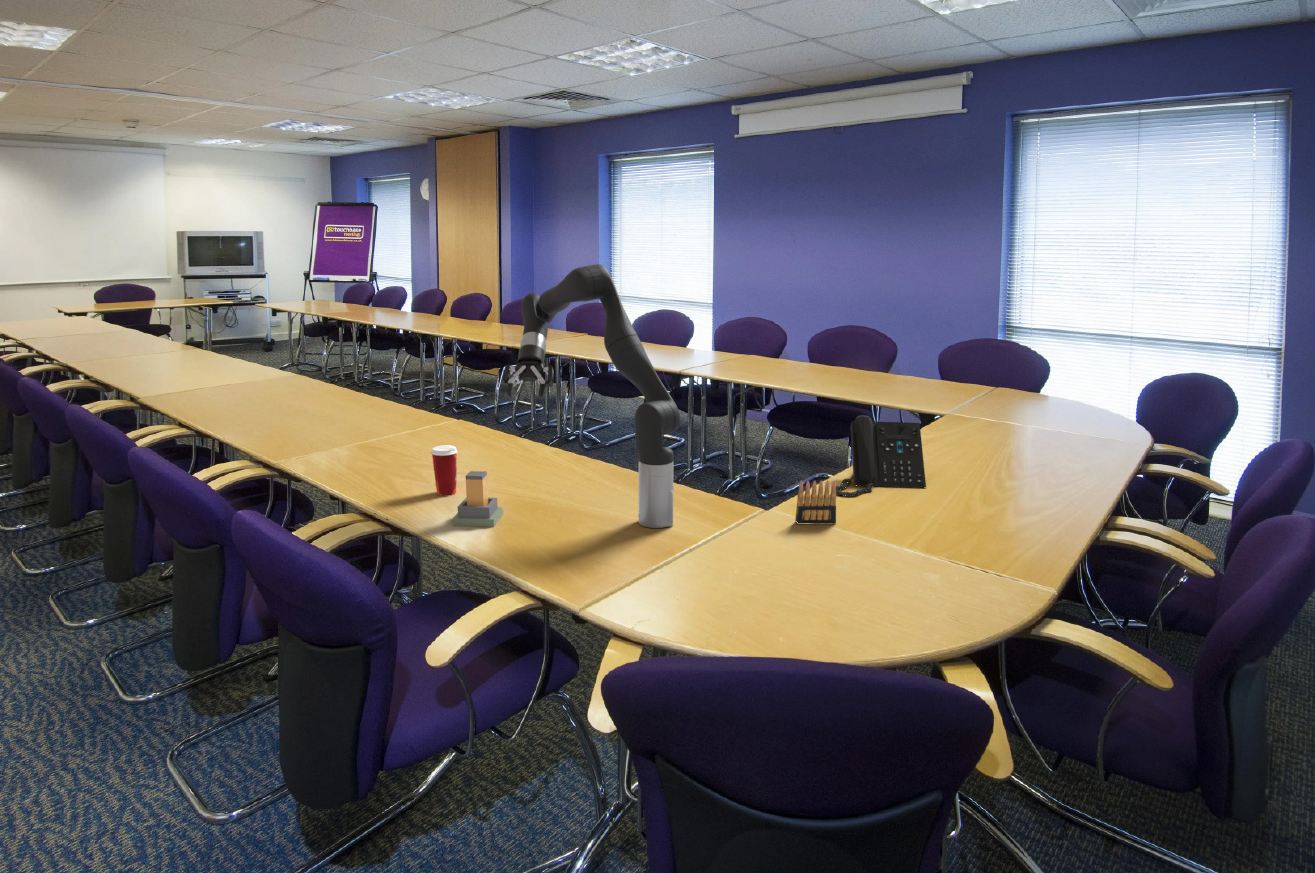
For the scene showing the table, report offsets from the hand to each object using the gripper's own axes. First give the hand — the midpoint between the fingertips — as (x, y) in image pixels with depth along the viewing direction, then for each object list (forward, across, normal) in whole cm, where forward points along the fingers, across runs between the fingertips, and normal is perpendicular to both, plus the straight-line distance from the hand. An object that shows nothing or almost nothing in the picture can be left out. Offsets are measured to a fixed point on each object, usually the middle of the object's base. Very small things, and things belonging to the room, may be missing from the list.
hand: (525, 397), depth 227 cm
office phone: (+5, +105, +39) cm, 112 cm away
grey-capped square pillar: (+33, -10, +8) cm, 35 cm away
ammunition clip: (+32, +81, +12) cm, 88 cm away
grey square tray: (+34, -10, +9) cm, 37 cm away
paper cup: (+18, -26, +26) cm, 41 cm away
